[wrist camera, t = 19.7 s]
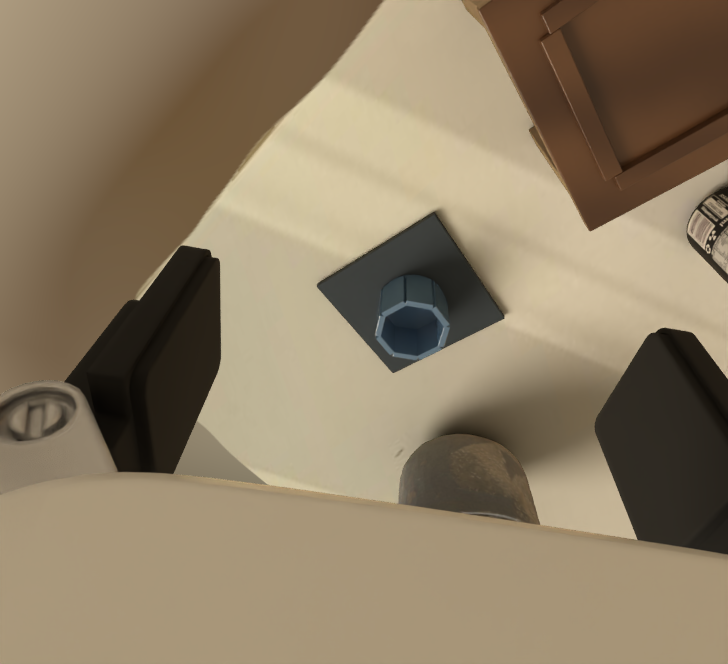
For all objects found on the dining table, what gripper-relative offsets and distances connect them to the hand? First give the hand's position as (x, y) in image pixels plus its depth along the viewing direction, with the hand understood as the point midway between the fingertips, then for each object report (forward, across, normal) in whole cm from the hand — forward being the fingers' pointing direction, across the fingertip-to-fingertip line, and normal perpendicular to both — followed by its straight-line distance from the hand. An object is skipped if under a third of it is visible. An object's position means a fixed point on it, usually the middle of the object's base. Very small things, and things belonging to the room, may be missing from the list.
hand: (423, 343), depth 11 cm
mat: (+36, -5, +22) cm, 43 cm away
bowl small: (+36, -5, +22) cm, 42 cm away
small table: (+36, -12, -5) cm, 39 cm away
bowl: (+36, -16, +44) cm, 59 cm away
